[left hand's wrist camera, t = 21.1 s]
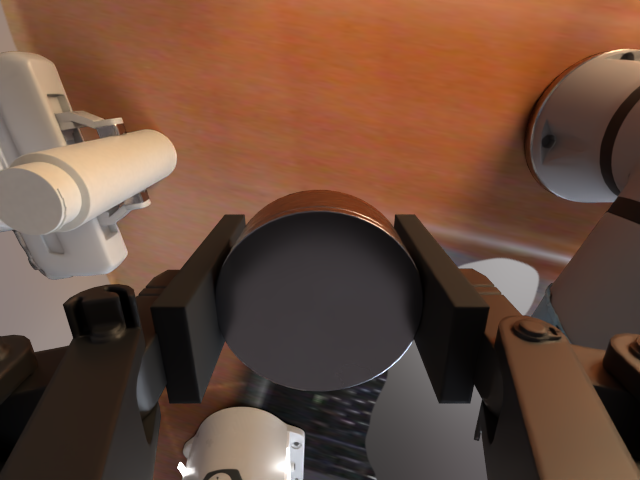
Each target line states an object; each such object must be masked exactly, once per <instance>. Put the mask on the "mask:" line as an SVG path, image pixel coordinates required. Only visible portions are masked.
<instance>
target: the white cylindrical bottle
mask: <svg viewBox="0 0 640 480" xmlns="http://www.w3.org/2000/svg"><path fill="white" fill-rule="evenodd" d="M176 162H177V155H176V151H175V148H174V146H173V144H172V143H171V141H170V140H169V139H168V138H167V137H166V136H165V135H163V134H162V133H160V132H158V131H155V130H150V129H144V130H139V131H134V132H129V133H127V134H124V135H119V136H110V137H105V138H101V139H96V140H91V141H86V142H81V143H77V144H72V145H67V146H62V147H57V148H53V149H48V150H43V151H38V152H33V153H29V154H25V155H22V156H20V157H18V158H17V159H16V160H14V161H13V162H12V163H11V165H10V166H9V168H6V169H4V170H1V171H0V219H1V220H2V221H3V222H4V223H5V224H6V225H8V226H9V227H11V228H12V229H14V230H16V231H18V232H21V233H24V234H28V235H47V234H50V233H54V232H66V231H70V230H73V229H75V228H77V227H79V226H81V225H83V224H84V223H86V222H88V221H90V220H92V219H93V218H95V217H97V216H99V215H100V214H102V213H104V212H106V211H107V210H109V209H111V208H113V207H114V206H116V205H118V204H120V203H121V202H123V201H125V200H127V199H128V198H130V197H132V196H134V195H135V194H137V193H139V192H141V191H142V190H144V189H146V188H148V187H149V186H151V185H153V184H155V183H156V182H158V181H160V180H162V179H163V178H165V177H167V176H168V175H170V174H171V173H172V171H173V170H174V168H175V166H176Z"/></svg>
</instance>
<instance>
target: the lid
mask: <svg viewBox="0 0 640 480" xmlns="http://www.w3.org/2000/svg"><path fill="white" fill-rule="evenodd" d="M215 305H216V313H217V320H218V326H219V329H220V331H221V333H222V336H223V338H224V339H225V341H226V343H227V344H228V346H229V348H230V349H231V350H232V351H233V353H234V354H235V355H236V356H237V357H238V358H239V359H240V360H241V361H242V362H243V363H244V364H245V365H246V366H247V367H249V368H250V369H251V370H253V371H254V372H255V373H257V374H259V375H260V376H262V377H264V378H266V379H268V380H270V381H272V382H274V383H277V384H280V385H283V386H286V387H290V388H294V389H299V390H307V391H331V390H339V389H344V388H349V387H352V386H355V385H359V384H361V383H364V382H366V381H368V380H371V379H373V378H374V377H376V376H378V375H380V374H381V373H383V372H384V371H386V370H387V369H388V368H390V367H391V366H392V365H393V364H394V363H395V362H396V361H398V360H399V359H400V358H401V356H402V355H403V354H404V353H405V352H406V350H407V349H408V348H409V346H410V345H411V343H412V341H413V340H414V338H415V336H416V334H417V331H418V329H419V326H420V323H421V319H422V314H423V307H424V293H423V287H422V281H421V278H420V275H419V272H418V269H417V267H416V265H415V264H414V262H413V260H412V258H411V256H410V254H409V253H408V251H407V249H406V247H405V246H404V244H403V242H402V240H401V239H400V237H399V235H398V233H397V232H396V230H395V229H394V227H393V226H392V224H391V223H390V222H389V221H388V220H387V218H386V217H385V216H384V215H383V214H382V213H381V212H379V211H378V210H377V209H376V208H374V207H373V206H372V205H370V204H368V203H367V202H365V201H363V200H361V199H359V198H357V197H354V196H352V195H349V194H345V193H341V192H337V191H330V190H309V191H301V192H297V193H293V194H289V195H287V196H284V197H282V198H279V199H277V200H275V201H274V202H272V203H270V204H268V205H267V206H265V207H264V208H263V209H261V210H260V211H259V212H258V213H257V214H256V215H255V216H254V217H253V218H252V219H251V220H250V221H249V222H248V224H247V225H246V226H245V228H244V229H243V231H242V232H241V234H240V236H239V237H238V239H237V241H236V243H235V244H234V246H233V248H232V249H231V251H230V253H229V254H228V256H227V258H226V260H225V262H224V263H223V265H222V267H221V270H220V272H219V275H218V278H217V282H216V287H215Z"/></svg>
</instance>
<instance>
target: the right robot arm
mask: <svg viewBox="0 0 640 480" xmlns="http://www.w3.org/2000/svg"><path fill="white" fill-rule="evenodd" d="M87 126H88V127H91V128H94V129H97V132H98V134H99V137H100V138H105V137H110V136H119V135H124V134H127V132H126V129H125V126H124V123H123V120H122V118H113V119H106V120H104V119H103V118H100V117H98V116H95V115H93V114H90V113H88V112H85V111H73V110H72V108H71V105H70V103H69V100H68V98H67V95H66V92H65V90H64V87H63V85H62V82H61V80H60V77H59V74H58V72H57V69H56V67H55V65H54V63H53V62H51V61H50V60H48V59H46V58H45V57H43V56H41V55H39V54H35V53H30V52H21V51H10V52H3V53H0V171H1V170H4V169H6V168H9V166H10V165H11V163H12V162H13V161H14V160H16V159H17V158H18V157H20V156H22V155H25V154H29V153H33V152H38V151H43V150H48V149H53V148H57V147H62V146H67V145H72V144H77V143H81V142H85V141H84V139H83V136H82V133H81V131H80V128H82V127H87ZM123 202H124V205H123V206H122V207H120V208H119V206H118V205H116V206H114V207H113V208H111V209H109V210H107V211H106V212H104V213H102V214H100V215H99V216H97V217H95V218H93V219H92V220H90V221H88V222H86V223H84V224H83V225H81V226H79V227H77V228H75V229H73V230H70V231H66V232H54V233H50V234H47V235H28V234H24V233H21V232H18V231H16V230H14V229H12V228H11V227H9V226H8V225H6V224H5V223H4V222H3V221H2V220H1V219H0V232H4V231H10V230H12V231H14V233H15V235H16V237H17V239H18V241H19V243H20V245H21V246H22V248H23V249H24V251H25V252H26V254H27V256H28V260H29V263H30V265H31V266H32V267H33V268H34V269H35V270H39V271H40V272H41V273H42V274H43V275H45V276H46V277H48V278H49V279H52V280H57V279H64V278H70V277H73V276H92V275H103V274H107V273H110V272H111V271H113V270H114V269H116V268H117V267H118V266H119V265H120V264H121V263H122V262H123V260H124V259H125V258H126V256H127V254H128V252H127V249H126V246H125V244H124V241H123V239H122V236H121V233H120V231H119V228H118V226H117V223H116V222H117V221H119V220H121V219H122V218H124V217H125V216H126V215H127V214H128V213H129V212H130V211H131V210H134V209H141V208H144V207H147V206H148V205H150V204H151V202H150V199H149V196H148V193H147V190H146V189H144V190H142V191H141V192H139V193H137V194H135V195H134V196H132V197H130V198H128V199H127V200H125V201H123ZM304 445H305V433H304V431H303V430H302V429H300V428H297V427H294V426H291V425H287V424H286V423H284V422H282V421H281V420H280V419H278V418H277V417H276V416H274V415H272V414H270V413H268V412H266V411H263V410H260V409H257V408H251V407H232V408H227V409H223V410H220V411H218V412H215V413H213V414H212V415H210V416H209V417H208V418H206V419H205V420H204V421H203V423H202V424H201V425H200V427H199V429H198V431H197V433H196V435H195V436H194V437H193V438H191V439H190V440H189V441H187V442H186V443H185V445H184V449H183V454H184V456H185V457H186V458H187V463H186V467H184V465H183V464H182V462H181V463H179V465H178V469H179V470H180V472H181V473H182V475H183V478H182V480H303V469H304Z"/></svg>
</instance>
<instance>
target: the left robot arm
mask: <svg viewBox="0 0 640 480" xmlns="http://www.w3.org/2000/svg"><path fill="white" fill-rule="evenodd" d="M525 156H526V161H527V164H528V167H529V170H530V172H531V174H532V176H533V177H534V179H535V180H536V181H537V182H538V183H539V184H540V185H541V186H542V187H543V188H544V189H545V190H547V191H549V192H550V193H552V194H555V195H557V196H559V197H562V198H564V199H567V200H571V201H577V202H584V203H596V202H613V204H612V205H611V207H610V208H609V209H608V211H607V212H606V213H605V214H604V215H603V217H602V218H601V220H600V221H599V222H598V224H597V225H596V226H595V228H594V229H593V230H592V232H591V233H590V235H589V236H588V237H587V239H586V240H585V241H584V243H583V244H582V245H581V247H580V248H579V250H578V251H577V252H576V254H575V255H574V256H573V258H572V259H571V260H570V262H569V263H568V265H567V266H566V267H565V269H564V270H563V271H562V273H561V274H560V275H559V277H558V278H557V279H556V281H555V282H554V283H551V284H550V285H549V286H548V288H547V289H546V292H545V296H544V298H543V299H542V301H541V302H540V304H539V306H538V307H537V309H536V310H535V312H534V313H533V315H532V316H531V317H529V316H523V315H521V314H520V312H519V311H518V310H517V309H516V308H515V307H514V306H513V305H512V304H511V303H510V302H509V301H508V300H507V298H506V297H505V296H504V295H501V292H500V291H499V290H498V289H497V288H496V287H494V284H493V283H492V282H491V281H490V280H489V279H488V278H487V277H486V276H484V275H483V274H481V273H479V272H477V271H475V270H474V269H459V268H458V267H457V266H456V265H455V264H454V262H453V261H452V260H451V259H450V257H449V256H448V255H447V254H446V252H445V251H444V250H443V249H442V248H441V246H440V245H439V244H438V243H437V241H436V240H435V239H434V238H433V236H432V235H431V234H430V233H429V232H428V230H427V229H426V228H425V227H424V225H423V224H422V223H421V222H420V220H419V219H418V218H417V217H416V216H415V215H395V222H394V229H395V230H396V232H397V233H398V235H399V237H400V239H401V240H402V242H403V244H404V246H405V247H406V249H407V251H408V253H409V254H410V256H411V258H412V260H413V262H414V264H415V265H416V267H417V269H418V272H419V275H420V278H421V281H422V287H423V293H424V307H423V314H422V319H421V323H420V326H419V329H418V331H417V334H416V336H415V338H414V340H415V343H416V345H417V348H418V351H419V353H420V356H421V358H422V361H423V363H424V366H425V368H426V371H427V374H428V376H429V379H430V381H431V384H432V386H433V389H434V392H435V394H436V397H437V399H438V402H439V403H470V402H471V397H472V392H473V387H474V385H475V387H476V388H477V390H478V392H479V394H480V396H481V398H482V403H481V407H480V412H479V416H478V421H477V425H476V430H475V436H474V440H477V441H479V438H480V434H481V433H482V441H483V448H484V456H485V463H486V471H487V478H488V480H640V50H637V49H622V50H614V51H608V52H602V53H599V54H595V55H592V56H590V57H587V58H585V59H583V60H581V61H579V62H577V63H576V64H574V65H572V66H571V67H569V68H568V69H567V70H565V71H564V72H563V73H562V74H560V75H559V76H558V77H557V78H556V79H555V80H554V81H553V82H552V83H551V84H550V85H549V87H548V88H547V89H546V90H545V92H544V93H543V94H542V96H541V97H540V99H539V100H538V102H537V104H536V106H535V108H534V110H533V112H532V114H531V117H530V119H529V122H528V126H527V130H526V136H525ZM245 226H246V225H245V215H224V217H223V218H222V219H221V220H220V221H219V223H218V224H217V225H216V226H215V228H214V229H213V230H212V231H211V232H210V234H209V235H208V236H207V237H206V239H205V240H204V241H203V242H202V244H201V245H200V246H199V247H198V248H197V250H196V251H195V252H194V253H193V255H192V256H191V257H190V258H189V260H188V261H187V262H186V263H185V264H184V266H183V267H182V268H181V269H180V270H167V271H165V272H163V273H161V274H160V275H158V276H156V277H154V278H153V279H152V280H151V281H150V283H149V284H148V285H147V286H146V288H144V289H143V290H142V291H141V292H140V293H139V296H137V297H136V298H135V294H134V289H132V288H131V287H129V286H126V285H120V284H114V285H104V286H99V287H94V288H91V289H88V290H85V291H82V292H80V293H78V294H76V295H74V296H73V297H71V298H69V299H68V300H67V301H66V302H65V303H64V304H63V306H64V310H65V313H66V316H67V319H68V323H69V326H70V329H71V332H72V336H73V339H72V341H71V343H70V345H69V346H65V347H60V348H55V349H49V350H44V351H39V352H34V350H33V348H32V345H31V342H30V340H29V339H28V338H26V337H25V336H20V335H9V336H0V480H152V479H153V472H154V464H155V457H156V449H157V442H158V434H159V427H160V419H161V413H160V407H159V403H158V399H159V397H160V396H161V394H162V392H163V390H164V388H165V386H166V389H167V393H168V398H169V403H201V401H202V399H203V396H204V394H205V391H206V388H207V386H208V383H209V381H210V378H211V376H212V373H213V370H214V368H215V365H216V363H217V360H218V358H219V355H220V353H221V350H222V347H223V345H224V342H225V339H224V338H223V336H222V333H221V331H220V329H219V326H218V320H217V313H216V305H215V287H216V282H217V278H218V275H219V272H220V270H221V267H222V265H223V263H224V262H225V260H226V258H227V256H228V254H229V253H230V251H231V249H232V248H233V246H234V244H235V243H236V241H237V239H238V237H239V236H240V234H241V232H242V231H243V229H244V228H245Z"/></svg>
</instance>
